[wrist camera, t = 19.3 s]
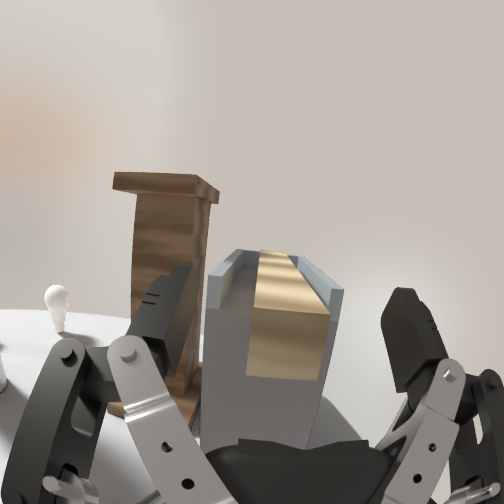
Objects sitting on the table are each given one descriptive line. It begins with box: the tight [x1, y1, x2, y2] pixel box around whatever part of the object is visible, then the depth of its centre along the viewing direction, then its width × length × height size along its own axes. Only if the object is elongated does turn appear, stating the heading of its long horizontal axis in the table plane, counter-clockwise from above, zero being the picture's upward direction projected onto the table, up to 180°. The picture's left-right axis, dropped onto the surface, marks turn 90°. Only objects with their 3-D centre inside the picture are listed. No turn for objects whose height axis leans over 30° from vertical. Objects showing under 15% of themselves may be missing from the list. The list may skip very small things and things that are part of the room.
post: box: [107, 172, 220, 429], centre depth 38 cm, size 18×12×32 cm, turn 178°
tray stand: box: [200, 249, 344, 454], centre depth 32 cm, size 22×10×24 cm, turn 178°
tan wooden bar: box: [246, 250, 331, 381], centre depth 24 cm, size 26×3×3 cm, turn 178°
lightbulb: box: [45, 285, 70, 333], centre depth 51 cm, size 6×6×11 cm
